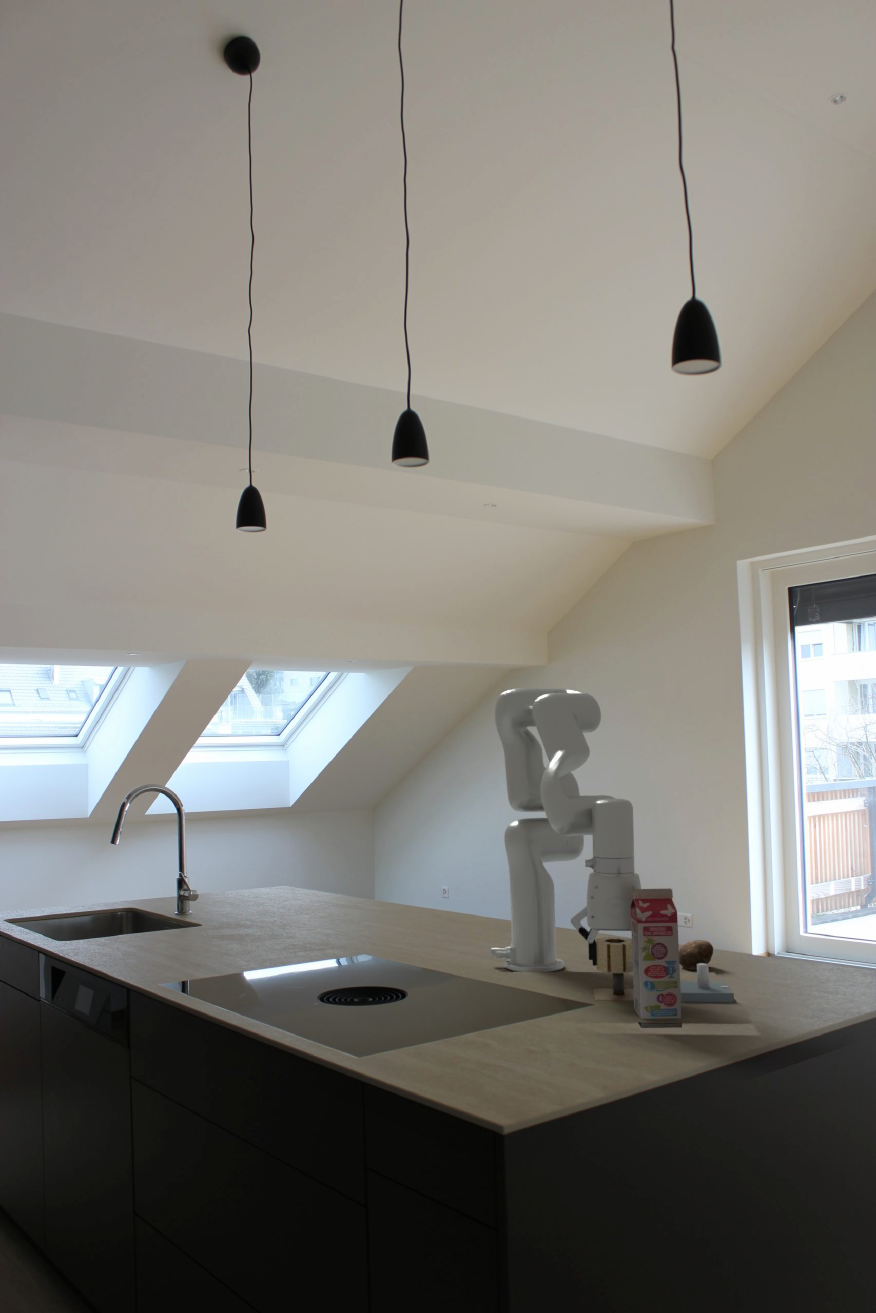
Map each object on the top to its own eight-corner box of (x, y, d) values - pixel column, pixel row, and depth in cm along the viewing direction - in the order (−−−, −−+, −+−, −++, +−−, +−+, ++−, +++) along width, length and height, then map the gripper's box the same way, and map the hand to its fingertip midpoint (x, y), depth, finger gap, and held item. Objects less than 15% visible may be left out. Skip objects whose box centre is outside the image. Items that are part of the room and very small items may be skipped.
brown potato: (718, 948, 217) (703, 926, 216) (725, 970, 210) (709, 947, 208) (685, 965, 219) (670, 943, 218) (691, 987, 211) (675, 964, 210)
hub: (681, 1010, 177) (680, 969, 178) (675, 998, 186) (674, 959, 187) (734, 1010, 176) (732, 969, 177) (725, 998, 185) (724, 959, 186)
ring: (597, 972, 182) (596, 944, 182) (595, 964, 189) (594, 936, 189) (636, 973, 181) (636, 944, 182) (633, 964, 188) (632, 937, 189)
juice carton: (634, 1017, 173) (629, 886, 175) (674, 1017, 172) (668, 886, 175) (641, 1027, 166) (636, 891, 168) (682, 1027, 166) (676, 890, 168)
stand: (595, 1008, 180) (594, 976, 180) (593, 996, 189) (592, 966, 189) (646, 1008, 179) (645, 976, 179) (642, 997, 188) (641, 966, 188)
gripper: (566, 868, 184) (568, 968, 183) (663, 869, 182) (666, 970, 181) (566, 863, 191) (567, 959, 190) (659, 864, 189) (661, 960, 188)
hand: (615, 963), depth 185 cm, fingers closed on ring, 7 cm apart
